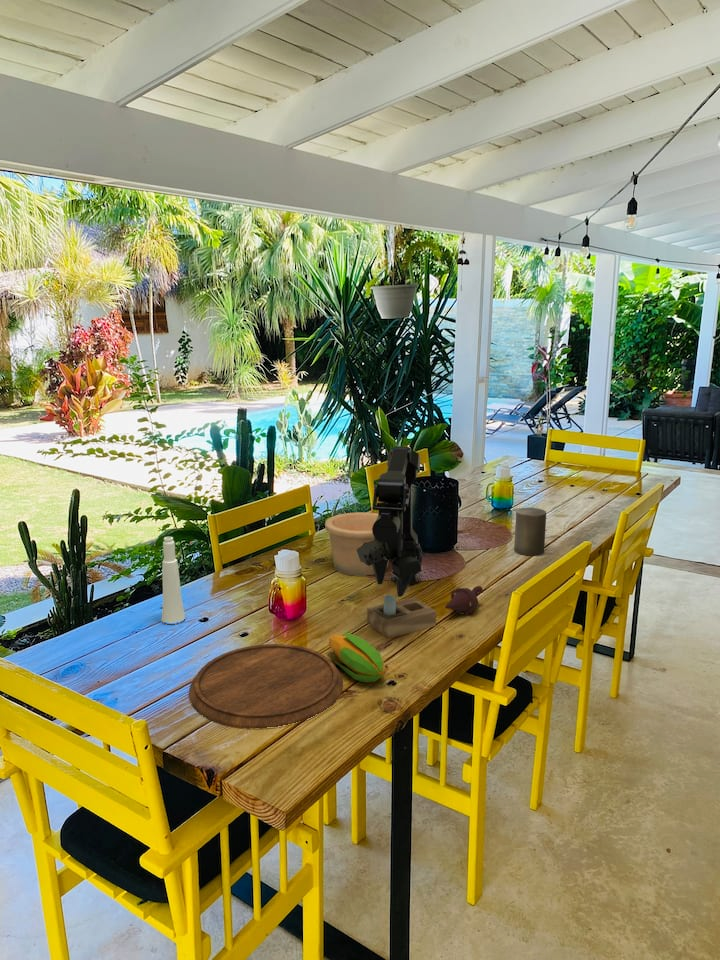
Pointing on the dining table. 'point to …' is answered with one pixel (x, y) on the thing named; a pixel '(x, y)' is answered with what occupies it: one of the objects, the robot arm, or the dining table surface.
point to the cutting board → (265, 686)
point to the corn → (357, 657)
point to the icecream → (464, 599)
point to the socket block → (402, 618)
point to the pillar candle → (530, 531)
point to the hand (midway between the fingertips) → (389, 590)
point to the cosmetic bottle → (171, 585)
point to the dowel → (389, 605)
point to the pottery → (350, 541)
